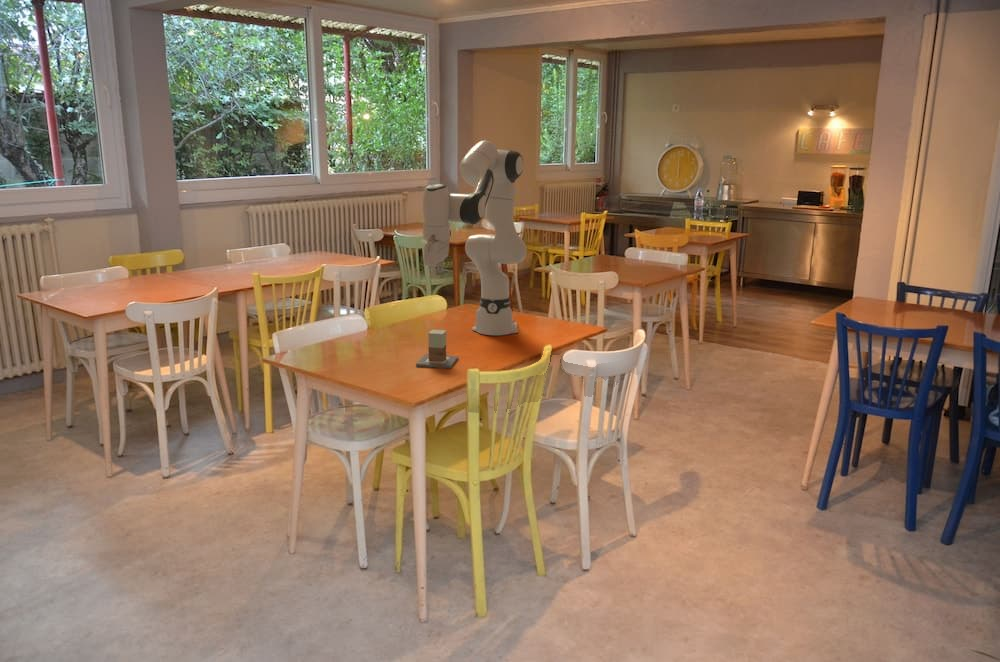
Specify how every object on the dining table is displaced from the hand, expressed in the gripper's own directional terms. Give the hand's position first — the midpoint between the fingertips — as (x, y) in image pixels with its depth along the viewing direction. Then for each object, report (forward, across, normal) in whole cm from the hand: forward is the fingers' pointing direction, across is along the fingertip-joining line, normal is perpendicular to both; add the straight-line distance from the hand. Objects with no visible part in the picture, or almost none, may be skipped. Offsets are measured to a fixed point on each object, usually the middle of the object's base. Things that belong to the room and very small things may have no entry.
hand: (436, 274), depth 264 cm
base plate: (+31, 0, 0) cm, 31 cm away
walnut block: (+30, 0, 0) cm, 30 cm away
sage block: (+25, 0, 0) cm, 25 cm away
